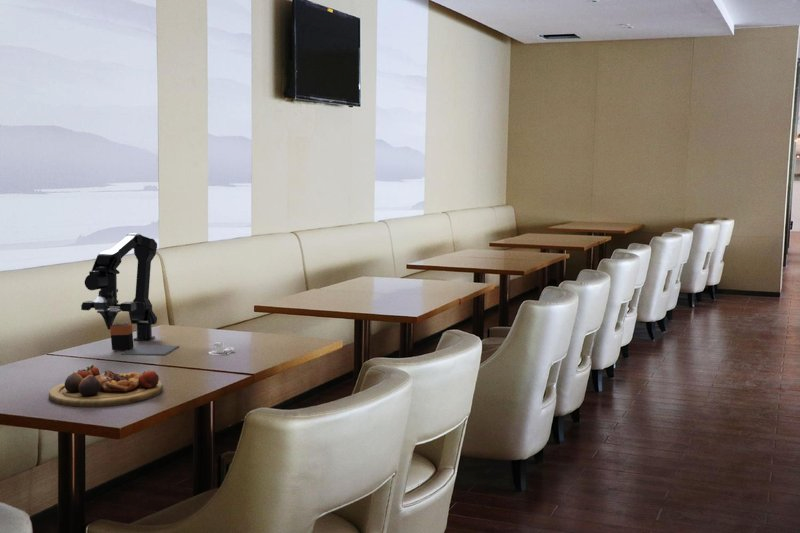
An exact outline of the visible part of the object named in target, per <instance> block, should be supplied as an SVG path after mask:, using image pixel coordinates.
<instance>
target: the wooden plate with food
mask: <svg viewBox="0 0 800 533" xmlns="http://www.w3.org/2000/svg"><path fill="white" fill-rule="evenodd" d="M163 388H164V387H163V383H162V382H161V381H160V378H159V375H158V374H157V372H156V371H155V370H147V371H143V372H142V373H139V372H136V371H133V372H127V373H118V372H113V371H112V370H110V369H109V370H105V371H104V372H103V373H101V372H100V369H99V368H98V367H97V366H95V365H94V364H92V365H91V366H86V369H78V371H77V372H73V373H71V374H70V375H68V376H67V377H66V379H65V381H64V382H62V383H60V384H57V385H56V386H53V388H51V389H50V390H49V393H48V398H49V399H50V401H51V402H53V403H55V404H58V405H63V406H67V407H68V406H69V407H78V408H79V407H80V408H99V407H101V408H102V407H103V408H104V407H112V406H113V407H114V406H121V405H127V404H129V405H130V404H133V403H138V402H142V401H146V400H148V399H152V398H154V397H156V396H157V395H159V394H160V393H161V392H162V391H163Z"/></svg>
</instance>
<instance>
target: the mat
mask: <svg viewBox="0 0 800 533" xmlns="http://www.w3.org/2000/svg"><path fill="white" fill-rule="evenodd" d="M178 348H180V345H172V344H171V345H164V344H163V345H162V344H161V345H159V344H137V345H135V346H134V347H133V348H132V349H130V350H124V351H123V352H121V353H120V354H121V355H122V356H161V357H162V356H164V357H165V356H166V355H168V354H170V353H171V352H173V351H175V350H177V349H178Z"/></svg>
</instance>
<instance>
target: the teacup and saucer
mask: <svg viewBox="0 0 800 533" xmlns="http://www.w3.org/2000/svg"><path fill="white" fill-rule="evenodd" d="M224 345H225V343H224V342H222V341H219V342H218V341H217V342H214V343H213V344H211V348H212V350H211V351H209V352H208V354H209V355H213V356H225V355H230V354H231V353H232V352H234V350H235V349H234V347H226V348H224V347H225V346H224ZM213 346H214V347H215V349H214V347H213ZM214 353H215V354H214ZM219 353H220V354H219ZM226 353H227V354H226Z"/></svg>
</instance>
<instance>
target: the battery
mask: <svg viewBox="0 0 800 533" xmlns="http://www.w3.org/2000/svg"><path fill="white" fill-rule="evenodd" d="M109 331H110V343H111V350H112V351H127V350H130V349H132V348H133V347H134V345H135V344H134V335H133V334H134V333H133V324H131V323H129V321H123V322H121V323H119V322H113V324H112V326H110V330H109Z"/></svg>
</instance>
